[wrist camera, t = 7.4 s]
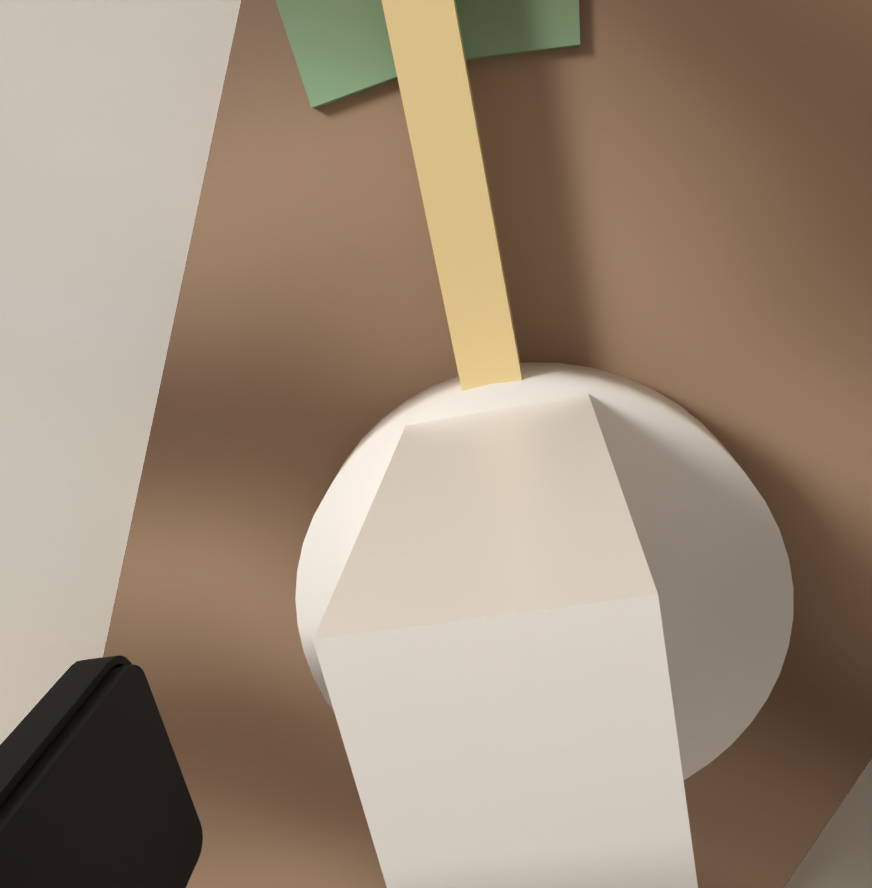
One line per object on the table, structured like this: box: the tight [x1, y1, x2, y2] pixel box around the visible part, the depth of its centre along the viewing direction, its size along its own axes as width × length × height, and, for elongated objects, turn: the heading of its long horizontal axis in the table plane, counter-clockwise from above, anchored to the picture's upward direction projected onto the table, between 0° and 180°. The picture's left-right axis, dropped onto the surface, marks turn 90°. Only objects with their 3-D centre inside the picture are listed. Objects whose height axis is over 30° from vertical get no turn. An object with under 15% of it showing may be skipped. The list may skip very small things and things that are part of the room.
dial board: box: [103, 0, 872, 888], centre depth 13 cm, size 24×13×2 cm, turn 161°
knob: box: [295, 0, 793, 888], centre depth 8 cm, size 14×7×6 cm, turn 12°
